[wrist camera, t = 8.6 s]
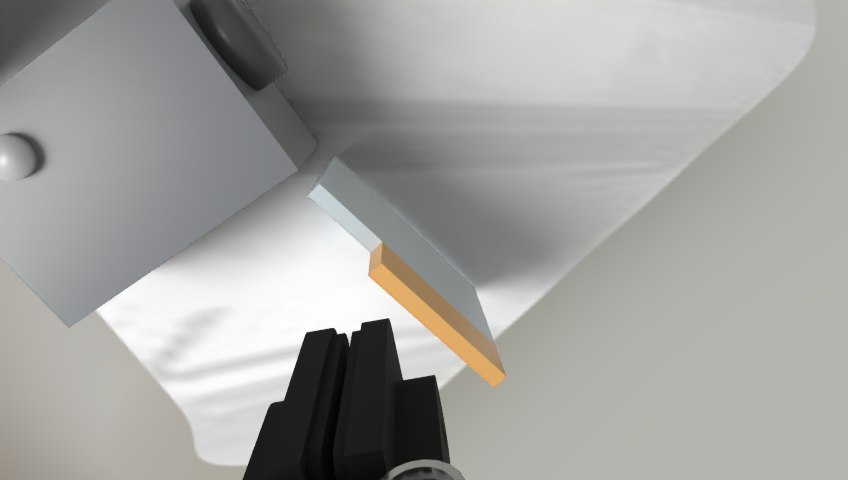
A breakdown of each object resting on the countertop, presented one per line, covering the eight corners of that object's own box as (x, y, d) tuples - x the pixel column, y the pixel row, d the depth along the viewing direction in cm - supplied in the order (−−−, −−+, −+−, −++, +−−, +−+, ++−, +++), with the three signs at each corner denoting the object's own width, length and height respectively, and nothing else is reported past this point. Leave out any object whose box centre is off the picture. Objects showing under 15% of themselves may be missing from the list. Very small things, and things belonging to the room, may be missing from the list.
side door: (325, 165, 34) (297, 212, 24) (335, 155, 34) (310, 199, 24) (465, 295, 37) (493, 387, 27) (474, 286, 37) (506, 376, 27)
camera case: (231, -27, 31) (174, -56, 23) (341, 129, 34) (325, 152, 26) (16, 136, 33) (-108, 162, 25) (137, 270, 36) (62, 333, 28)
